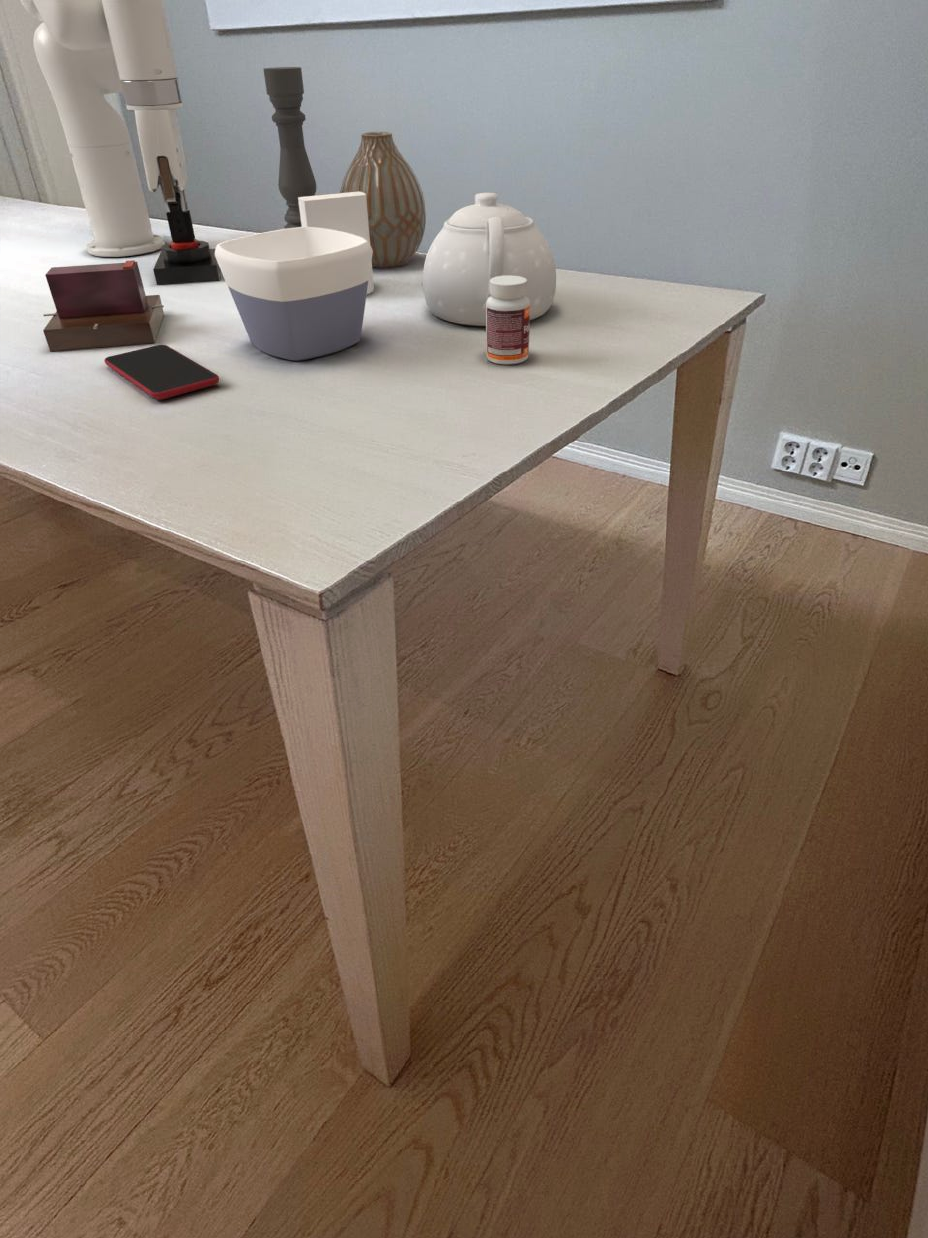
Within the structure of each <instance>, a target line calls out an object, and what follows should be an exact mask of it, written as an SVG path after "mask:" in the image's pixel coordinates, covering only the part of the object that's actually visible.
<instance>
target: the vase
mask: <svg viewBox="0 0 928 1238" xmlns="http://www.w3.org/2000/svg"><path fill="white" fill-rule="evenodd" d="M360 137H361V139H360V144H359V147H358V150H357V152H356V154H355V155H354V157H353V159H352V161H351V163H350V165H349V167H348V168H347V171H346V173H345V175H344V178H343V180H342V183H341V187H340V192H339V193H348V192H363V193H365V194H366V200H367V212H368V224H369V236H370V246H371V248H372V250H373V253H372V268H382V269H385V268H386V269H387V268H396V267H400V266H401V267H402V266H404V265H406V264H408V262H410V260H411V259H412V257H413V256H414V255H415V254H416V253H417V251H418V250H419V248H420V246H421V244H422V241H423V238H424V234H425V231H426V223H427V222H426V221H427V218H426V217H427V213H426V211H427V210H426V201H425V197H424V194H423V193H424V192H423V190H422V187H421V185H420V182H419V179H418V178H417V176H416V174H415V172H414V170H413V168H412V167H411V166H410V164H409V163H408V161H407V160H406V159H405V157H404V156H403V155H402V153H401V152H400V150H399V149H398V147H397V145H396V143H395V140H394V137H393V133H392V132H389V131H368V132H364V133H361V135H360Z"/></svg>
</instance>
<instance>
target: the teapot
mask: <svg viewBox="0 0 928 1238" xmlns="http://www.w3.org/2000/svg"><path fill="white" fill-rule="evenodd" d="M498 200H499V197H498V195H497V194H496V193H494V192H479V193H476V194H475V195H474V204H470V205H466V206H464V207H462V208H460V209H458V210H456V211H455V212H454V213H453V214H451V216H450V218H448V219H446V220H445V221H444V223H443V227H442V228H441V230H440V231H439V232H438V233H437V235H436V236H435V238H434V240H433V241H432V243H431V245H430V246H429V248H428V251H427V254H426V257H425V259H424V265H423V271H422V285H423V286H422V289H423V295H424V299H425V303H426V306H427V307H428V310H429V311H430V312H431V313H432V314H433V315H434V316H435V317H437V318H439V319H441V320H443V321H445V322H446V321H447V322H449V323H454V324H459V325H465V326H475V327H476V326H477V327H486V302H487V299H488V298H489V297H491V295H490V291H489V287H490V279H491V278H493V277H497V276H506V275H511V276H520V277H524V278H526V279H527V294H526V295H525V296H526V297H527V298H528V299H529V301H530V321H533V320H535V319H538V318H540V317H541V316H543V315H545V314H546V312H548V310H549V309H550V308H551V306H552V304H553V302H554V299H555V295H556V288H557V269H556V263H555V259H554V254H553V253H552V249H551V247H550V246H549V243H548V241H547V240H546V238H545V237H544V235H543V233H542V232H541V231H540V230H539V229H538V227H537V226H536V225H535V221H534V220H533V219H532V217H531V218H530V217H528V216H525V215H524V214H523V213H521V212H520V211H519V209H516V208H515V207H513V206H509V205H506V204H504V203H503V204H502V203H497V202H498Z"/></svg>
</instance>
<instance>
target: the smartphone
mask: <svg viewBox="0 0 928 1238" xmlns="http://www.w3.org/2000/svg"><path fill="white" fill-rule="evenodd" d="M103 360H104V361H103V362H104V364H105V365H106V366H107V367H109V368H111V369H112V370H113V371H114V372H116V373H118V374H119V375H120V376H122V377H123V378H125V379H126V380H128V382H130V383H132V384H133V385H135V386H136V387H138V388H139V389H140V390H142V391H143V392H145V393H146V394H147V395H149V396H150V397H151V398H154V399H155V400H161V401H162V400H166V399H169V398H173V397H177V396H180V395H183V394H187V393H190V392H191V393H192V392H194V391H198V390H202V389H205V388H208V387H212V386H215V385H217V384H218V383H219V381H220V376H219V375H218V374H217V373H215V372H213V371H212V370H210V369H208V368H206V367H205V366H203V365H202V364H199V363H198V362H196V361H195V360H193V359H191V358H189V357H188V356H186V355H184V354H182V353H181V352H179V351H177V350H175V349H174V348H172V347H170V346H168V345H167V344H156V345H153V346H148V347H143V348H140V349H136V350H131V351H126V352H123V353H122V352H121V353H118V354H114V355H110V356H107V357H105V358H104V359H103Z"/></svg>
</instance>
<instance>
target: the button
mask: <svg viewBox="0 0 928 1238" xmlns="http://www.w3.org/2000/svg"><path fill="white" fill-rule="evenodd" d="M198 240H199V239H197V238H195V239H194V241H193V242H183V243H174V242H173V241H172V240H171V241H170V242H169V243H170V244H171V248H172V249H188V248H194V247H197V246H199V244H198Z"/></svg>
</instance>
